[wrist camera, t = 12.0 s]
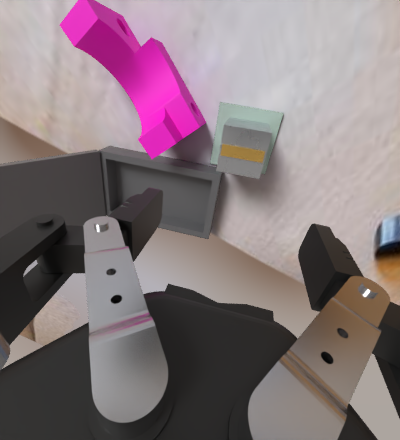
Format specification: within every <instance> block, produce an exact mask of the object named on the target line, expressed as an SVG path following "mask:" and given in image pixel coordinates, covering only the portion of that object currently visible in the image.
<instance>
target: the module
mask: <svg viewBox="0 0 400 440" xmlns="http://www.w3.org/2000/svg"><path fill="white" fill-rule="evenodd" d="M271 136H272V131H271V128H270V126H269V124H268V123H262V122H256V121H250V120H244V119H238V118H232V117H229V119H228V120H227V121H226V123H225V124H224V127H223V133H222V139H221V145H220V151H219V157H218V163H217V168H216V171H219V172H224V173H230V174H235V175H240V176H245V177H251V178H256V179H260V175H261V172H262V168H263V165H264V161H265V158H266V154H267V150H268V147H269V143H270V140H271Z"/></svg>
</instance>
